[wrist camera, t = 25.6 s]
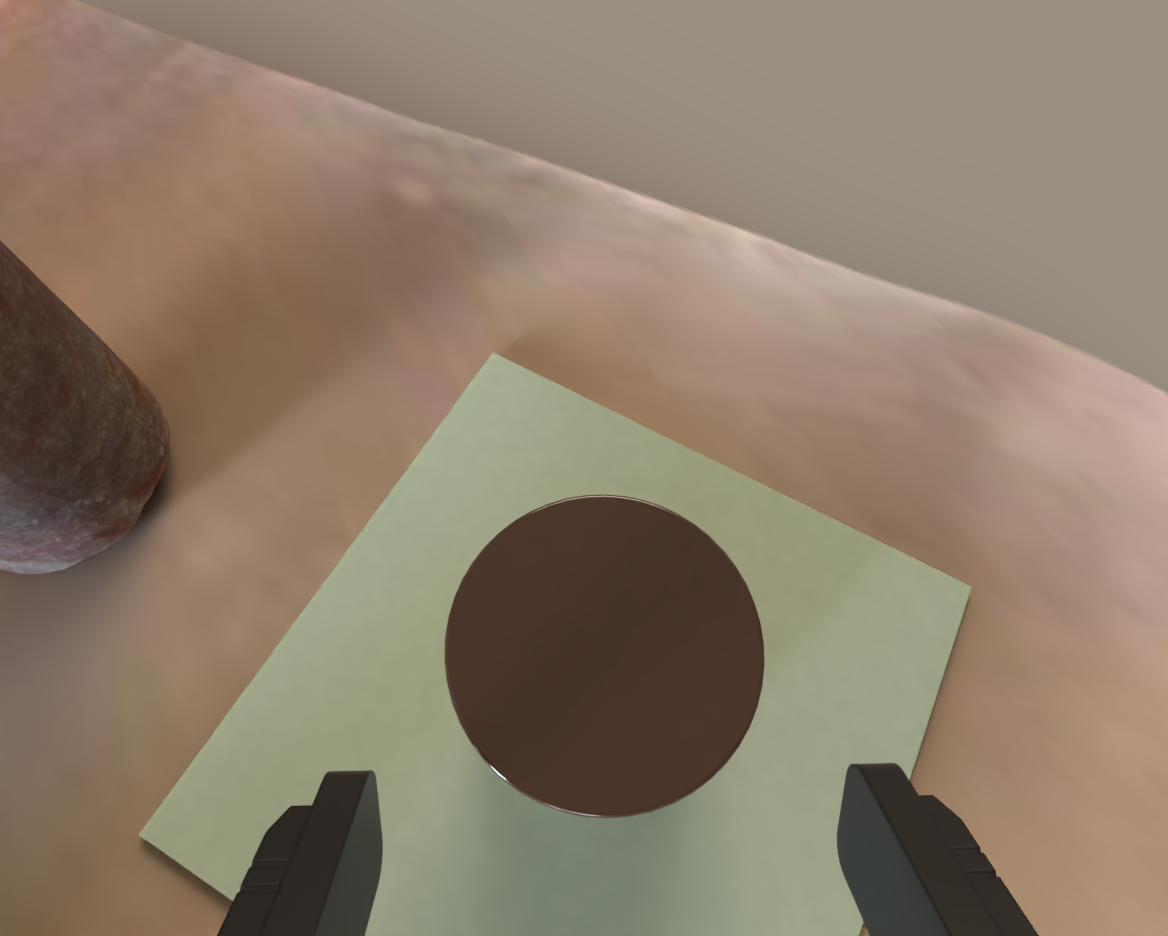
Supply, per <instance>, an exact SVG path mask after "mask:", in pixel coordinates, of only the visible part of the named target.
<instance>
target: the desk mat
mask: <svg viewBox="0 0 1168 936" xmlns="http://www.w3.org/2000/svg"><path fill="white" fill-rule="evenodd" d="M584 495H617V496H626V497H631V498H636V499H641V500H645V501H648V502H651V503H654V504H657V505H660V506H662V507H664V508H666V509H669V510H671V511H673V512H675V513H677V514H679V515H681V516H682V517H684V518H685V519H687V520H689V521H690V522H692V523H693V524H695V525H696V526H698V527H699V528H700V529H701V530H702V531H704V532H705V533H706V534H707V535H709V536H710V537H711V538H712V539H713V540H714V541H715V542H716V543H717V544H718V545H719V546H720V547H721V548H722V549H723V550H724V551H725V553H726V554H727V555H728V557H729V558H730V559H731V560H732V562H733V563H734V564H735V566H736V567H737V569H738V570H739V572H740V574H741V575H742V577H743V579H744V581H745V582H746V584H747V586H748V588H749V591H750V593H751V595H752V598H753V600H754V602H755V605H756V608H757V612H758V615H759V619H760V622H761V627H762V633H763V640H764V654H765V668H764V678H763V687H762V691H761V696H760V700H759V704H758V708H757V711H756V713H755V716H754V718H753V721H752V724H751V726H750V728H749V730H748V732H747V734H746V736H745V737H744V739H743V741H742V743H741V745H740V747H739V748H738V749H737V751H736V752H735V753H734V755H733V756H732V757H731V759H730V760H729V761H728V763H727V764H726V765H725V766H724V767H723V768H722V769H721V770H720V771H719V772H718V773H717V774H716V775H715V776H714V777H713V778H712V779H711V780H710V781H709V782H707V783H706V784H705V785H703V786H702V787H701V788H699V789H698V790H697V791H695V792H694V793H693V794H691V795H689V796H687V797H685V798H684V799H682V800H680V801H678V802H676V803H674V804H673V805H670V806H667V807H664V808H662V809H659V810H656V811H654V812H651V813H646V814H641V815H636V816H632V817H622V818H607V819H603V818H591V817H581V816H576V815H572V814H568V813H563V812H559V811H557V810H554V809H552V808H549V807H547V806H544V805H541V804H539V803H537V802H536V801H534V800H532V799H530V798H528V797H527V796H525V795H523V794H521V793H520V792H518V791H517V790H516V789H514V788H513V787H512V786H510V785H509V784H508V783H507V782H505V781H504V780H503V779H501V778H500V777H499V776H498V775H497V774H496V773H495V772H494V771H493V770H492V769H491V768H490V767H489V766H488V765H487V764H486V763H485V762H484V761H483V759H482V758H481V757H480V755H479V754H478V752H477V751H476V750H475V748H474V747H473V746H472V744H471V743H470V741H469V739H468V738H467V736H466V734H465V732H464V730H463V729H462V727H461V725H460V723H459V720H458V718H457V715H456V713H455V710H454V708H453V705H452V702H451V698H450V694H449V690H448V686H447V682H446V672H445V663H444V647H445V634H446V627H447V621H448V616H449V613H450V609H451V606H452V602H453V599H454V596H455V594H456V592H457V590H458V587H459V585H460V583H461V581H462V579H463V577H464V575H465V574H466V572H467V570H468V569H469V567H470V565H471V564H472V562H473V561H474V559H475V558H476V557H477V556H478V554H479V553H480V552H481V551H482V549H483V548H484V547H485V546H486V545H487V544H488V543H489V542H490V541H491V540H492V539H493V538H494V537H495V536H496V535H497V534H498V533H499V532H500V531H502V530H503V529H504V528H506V527H507V526H508V525H510V524H511V523H512V522H513V521H515V520H517V519H518V518H520V517H522V516H524V515H525V514H527V513H529V512H530V511H533V510H535V509H537V508H540V507H542V506H544V505H547V504H549V503H553V502H556V501H559V500H563V499H566V498H572V497H578V496H584ZM971 589H972V587H971V586H969V585H967V584H965V583H963V582H961V581H959V580H957V579H955V578H953V577H951V576H949V575H947V574H945V573H943V572H941V571H939V570H937V569H935V568H933V567H931V566H929V565H926V564H924V563H922V562H920V561H918V560H916V559H914V558H912V557H910V556H908V555H906V554H904V553H902V552H900V551H898V550H896V549H894V548H892V547H890V546H888V545H886V544H884V543H882V542H879V541H877V540H875V539H873V538H871V537H869V536H867V535H865V534H863V533H861V532H859V531H857V530H855V529H853V528H851V527H849V526H847V525H845V524H843V523H841V522H839V521H837V520H835V519H833V518H830V517H828V516H826V515H824V514H822V513H820V512H818V511H816V510H814V509H812V508H810V507H808V506H806V505H804V504H802V503H800V502H798V501H796V500H794V499H792V498H790V497H788V496H786V495H783V494H781V493H779V492H777V491H775V490H773V489H771V488H769V487H767V486H765V485H763V484H761V483H759V482H757V481H755V480H753V479H751V478H749V477H747V476H745V475H743V474H741V473H739V472H736V471H734V470H732V469H730V468H728V467H726V466H724V465H722V464H720V463H718V462H716V461H714V460H712V459H710V458H708V457H706V456H704V455H702V454H700V453H698V452H696V451H694V450H692V449H689V448H687V447H685V446H683V445H681V444H679V443H677V442H675V441H673V440H671V439H669V438H667V437H665V436H663V435H661V434H659V433H657V432H655V431H653V430H651V429H649V428H647V427H645V426H642V425H640V424H638V423H636V422H634V421H632V420H630V419H628V418H626V417H624V416H622V415H620V414H618V413H616V412H614V411H612V410H610V409H608V408H606V407H604V406H602V405H600V404H598V403H595V402H593V401H591V400H589V399H587V398H585V397H583V396H581V395H579V394H577V393H575V392H573V391H571V390H569V389H567V388H565V387H563V386H561V385H559V384H557V383H555V382H553V381H551V380H548V379H546V378H544V377H542V376H540V375H538V374H536V373H534V372H532V371H530V370H528V369H526V368H524V367H522V366H520V365H518V364H516V363H514V362H512V361H510V360H508V359H506V358H504V357H502V356H499V355H497V354H495V353H492V355H491V356H490V357H489V359H488V360H487V361H486V363H485V364H484V365H483V367H482V368H481V370H480V371H479V372H478V374H477V375H476V376H475V378H474V379H473V380H472V382H471V383H470V385H469V386H468V387H467V389H466V390H465V391H464V393H463V394H462V395H461V397H460V398H459V399H458V401H457V402H456V404H455V405H454V406H453V408H452V409H451V410H450V412H449V413H448V414H447V416H446V417H445V418H444V420H443V421H442V423H441V424H440V425H439V427H438V428H437V429H436V431H435V432H434V433H433V435H432V436H431V438H430V439H429V440H428V442H427V443H426V444H425V446H424V447H423V448H422V450H421V451H420V452H419V454H418V455H417V457H416V458H415V459H414V461H413V462H412V463H411V465H410V466H409V467H408V469H407V470H406V472H405V473H404V474H403V476H402V477H401V478H400V480H399V481H398V482H397V484H396V485H395V486H394V488H393V489H392V491H391V492H390V493H389V495H388V496H387V497H386V499H385V500H384V501H383V503H382V504H381V506H380V507H379V508H378V510H377V511H376V512H375V514H374V515H373V516H372V518H371V519H370V520H369V522H368V523H367V525H366V526H365V527H364V529H363V530H362V531H361V533H360V534H359V535H358V537H357V538H356V540H355V541H354V542H353V544H352V545H351V546H350V548H349V549H348V550H347V552H346V553H345V554H344V556H343V557H342V559H341V560H340V561H339V563H338V564H337V565H336V567H335V568H334V569H333V571H332V572H331V573H330V575H329V576H328V578H327V579H326V580H325V582H324V583H323V584H322V586H321V587H320V588H319V590H318V591H317V593H316V594H315V595H314V597H313V598H312V599H311V601H310V602H309V603H308V605H307V606H306V607H305V609H304V610H303V612H302V613H301V614H300V616H299V617H298V618H297V620H296V621H295V622H294V624H293V625H292V627H291V628H290V629H289V631H288V632H287V633H286V635H285V636H284V637H283V639H282V640H281V641H280V643H279V644H278V646H277V647H276V648H275V650H274V651H273V652H272V654H271V655H270V656H269V658H268V659H267V661H266V662H265V663H264V665H263V666H262V667H261V669H260V670H259V671H258V673H257V674H256V675H255V677H254V678H253V680H252V681H251V682H250V684H249V685H248V686H247V688H246V689H245V690H244V692H243V693H242V694H241V696H240V697H239V699H238V700H237V701H236V703H235V704H234V705H233V707H232V708H231V709H230V711H229V712H228V714H227V715H226V716H225V718H224V719H223V720H222V722H221V723H220V724H219V726H218V727H217V728H216V730H215V731H214V733H213V734H212V735H211V737H210V738H209V739H208V741H207V742H206V743H205V745H204V746H203V748H202V749H201V750H200V752H199V753H198V754H197V756H196V757H195V758H194V760H193V761H192V762H191V764H190V765H189V767H188V768H187V769H186V771H185V772H184V773H183V775H182V776H181V777H180V779H179V780H178V782H177V783H176V784H175V786H174V787H173V788H172V790H171V791H170V792H169V794H168V795H167V796H166V798H165V799H164V801H163V802H162V803H161V805H160V806H159V807H158V809H157V810H156V811H155V813H154V814H153V815H152V817H151V818H150V820H149V821H148V822H147V824H146V825H145V826H144V828H143V829H142V830H141V832H140V833H139V836H141V837H142V838H144V839H145V840H146V841H148V842H149V843H151V844H152V845H153V846H155V847H156V848H158V849H159V850H161V851H162V852H163V853H165V854H166V855H168V856H169V857H170V858H172V859H173V860H175V861H176V862H178V863H179V864H180V865H182V866H183V867H185V868H186V869H187V870H189V871H190V872H192V873H193V874H195V875H196V876H197V877H199V878H200V879H202V880H203V881H204V882H206V883H207V884H209V885H210V886H212V887H213V888H214V889H216V890H217V891H219V892H220V893H221V894H223V895H224V896H226V897H227V898H229V899H230V900H231V901H234V898H235V896H236V894H237V892H240V886H241V884H242V881H243V879H244V877H245V875H246V873H247V871H248V869H249V867H251V866H252V860H253V858H254V856H255V854H256V852H257V849H258V847H259V845H260V843H261V841H262V839H263V837H264V835H265V832H266V831H267V830H268V829H269V828H270V827H271V826H272V825H273V824H274V823H275V822H276V821H277V820H278V819H279V817H280V816H281V815H282V814H283V813H284V812H285V811H286V810H287V809H288V808H289V807H290V806H302V805H312V804H313V801H314V799H315V797H316V794H317V792H318V789H319V787H320V784H321V782H322V780H323V778H324V776H325V774H326V773H327V772H328V771H365V770H372V771H374V773H375V775H376V781H377V791H378V800H379V810H380V819H381V828H382V838H383V857H382V867H381V874H380V879H379V884H378V888H377V892H376V895H375V899H374V903H373V907H372V910H371V914H370V918H369V922H368V925H367V929H366V933H365V936H859V935H860V932H861V929H862V926H863V923H864V921H863V919H862V917H861V914H860V912H859V910H858V907H857V905H856V903H855V900H854V898H853V896H852V893H851V891H850V889H849V886H848V884H847V882H846V879H845V877H844V875H843V872H842V869H841V866H840V862H839V857H838V851H837V828H838V822H839V816H840V810H841V803H842V797H843V791H844V784H845V778H846V773H847V769H848V767H849V765H851V764H862V763H896V764H898V765H899V766H900V767H901V768H902V770H903V771H904V773H905V774H906V776H907V778H908V779H909V781H910V777H911V774H912V771H913V768H914V765H915V762H916V759H917V756H918V753H919V750H920V747H921V743H922V740H923V737H924V734H925V731H926V728H927V725H928V722H929V719H930V716H931V713H932V709H933V706H934V703H935V700H936V697H937V694H938V691H939V688H940V685H941V682H942V679H943V675H944V672H945V669H946V666H947V663H948V660H949V657H950V654H951V651H952V648H953V645H954V641H955V638H956V635H957V632H958V629H959V626H960V623H961V620H962V617H963V614H964V611H965V607H966V604H967V601H968V598H969V595H970V592H971Z"/></svg>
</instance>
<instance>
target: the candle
mask: <svg viewBox="0 0 1168 936" xmlns="http://www.w3.org/2000/svg"><path fill="white" fill-rule="evenodd" d="M169 435H170V430H169V426H168V423H167V420H166V419H165V417H164V415H163V412H162V409H161V406H160V404H159V403H158V401H157V399H156V398H155V396H154V395H153V393H152V392H151V391H150V390H149V389H148V388H147V386H146V385H145V384H144V383H143V382H142V381H141V380H140V379H139V378H138V376H137V375H136V374H135V373H134V372H133V371H132V370H131V369H130V368H129V367H128V366H127V365H126V364H125V363H124V362H123V361H122V360H121V359H119V358H118V357H117V356H116V354H115V353H114V352H113V351H112V350H111V349H110V348H109V347H108V346H107V345H106V344H105V343H104V342H103V341H102V340H101V339H100V338H99V336H97V335H96V334H95V333H94V332H93V331H92V330H91V329H90V328H89V327H88V326H87V325H86V324H85V323H84V322H83V321H82V320H81V319H80V318H79V317H78V316H77V315H76V314H75V313H74V312H73V311H72V310H71V309H70V308H69V307H68V306H67V305H66V304H65V303H64V302H62V301H61V300H60V299H59V298H58V297H57V296H56V295H55V294H54V293H53V292H52V291H51V290H50V289H49V288H48V287H47V286H46V285H45V284H44V283H43V282H42V281H41V280H40V279H39V278H38V277H37V276H36V275H35V274H34V273H33V272H32V271H31V270H30V269H29V268H28V267H27V266H26V265H25V264H24V263H23V262H22V261H21V260H20V259H19V258H18V257H17V256H16V255H15V254H14V253H13V252H12V251H11V250H10V249H9V248H7V247H6V246H5V245H4V244H3V243H2V242H1V241H0V569H2V570H5V571H10V572H15V573H20V574H39V573H50V572H55V571H59V570H63V569H66V568H68V567H71V566H73V565H75V564H77V563H80V562H82V561H84V560H85V559H86V558H87V557H90V556H92V555H95V554H97V553H99V552H101V551H103V550H104V549H106V548H108V547H110V546H112V545H113V544H115V543H116V542H118V541H119V540H120V539H122V538H123V537H125V536H126V535H127V534H128V533H129V532H130V531H131V529H132V527H133V526H134V525H135V524H136V522H137V520H138V518H139V516H140V514H141V512H142V509H143V506H144V505H145V503H146V502H147V501H148V500H149V498H150V497H151V495H152V493H153V490H154V488H155V486H156V485H157V483H158V481H159V479H160V477H161V476H162V474H163V472H164V470H165V467H166V465H167V463H168V461H169V458H170V456H169Z"/></svg>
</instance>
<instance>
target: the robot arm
mask: <svg viewBox="0 0 1168 936" xmlns="http://www.w3.org/2000/svg"><path fill="white" fill-rule="evenodd" d="M837 851H838V857H839V862H840V866H841V869H842V872H843V875H844V877H845V879H846V882H847V884H848V886H849V889H850V891H851V893H852V896H853V898H854V900H855V903H856V905H857V907H858V910H859V912H860V914H861V917H862V919H863V921H864V923H865V926H866V928H867V930H868V933H869V935H870V936H1039V935H1038V934H1037V932H1036V931H1035V929H1034V928H1033V926H1032V925H1031V923H1030V922H1029V920H1028V919H1027V917H1026V916H1025V914H1024V913H1023V911H1022V910H1021V908H1020V907H1019V905H1018V904H1017V902H1016V901H1015V899H1014V898H1013V896H1012V895H1011V893H1010V892H1009V890H1008V889H1007V887H1006V886H1005V884H1004V883H1003V881H1002V880H1001V878H1000V877H997V876H996V871H995V869H994V868H993V866H992V865H991V863H990V862H989V860H988V859H987V857H986V856H985V854H984V853H981V851H980V847H979V845H978V844H977V842H976V841H975V839H974V838H973V836H972V835H971V833H970V832H969V830H968V829H967V827H966V826H965V824H964V823H963V821H962V819H960V818H959V817H958V816H957V815H956V814H954V813H953V812H952V811H951V810H950V809H949V808H947V807H946V806H945V805H944V804H943V803H942V802H940V801H939V800H938V799H937V798H936V797H934V796H933V795H923V796H919V795H918V794H917V792H916V791H915V789H914V787H913V786H912V784H911V783H910V781H909V779H908V778H907V776H906V774H905V773H904V771H903V770H902V768H901V767H900V766H899V765H898V764H896V763H862V764H851V765H849V767H848V769H847V773H846V778H845V784H844V791H843V797H842V803H841V810H840V816H839V822H838V828H837ZM382 857H383V838H382V828H381V819H380V810H379V800H378V791H377V781H376V775H375V773H374V771H372V770H365V771H328V772H327V773H326V774H325V776H324V778H323V780H322V782H321V784H320V787H319V789H318V792H317V794H316V797H315V799H314V801H313V804H312V805H302V806H290V807H289V808H288V809H287V810H286V811H285V812H284V813H283V814H282V815H281V816H280V817H279V819H278V820H277V821H276V822H275V823H274V824H273V825H272V826H271V827H270V828H269V829H268V830H267V831H266V832H265V835H264V837H263V839H262V841H261V843H260V845H259V847H258V849H257V852H256V854H255V856H254V858H253V860H252V866H251V867H249V869H248V871H247V873H246V875H245V877H244V879H243V881H242V884H241V886H240V892H237V894H236V896H235V898H234V901H233V903H232V905H231V907H230V909H229V911H228V913H227V916H226V918H225V920H224V922H223V924H222V926H221V928H220V930H219V933H218V935H217V936H365V933H366V929H367V925H368V922H369V918H370V914H371V910H372V907H373V903H374V899H375V895H376V892H377V888H378V884H379V879H380V874H381V867H382Z"/></svg>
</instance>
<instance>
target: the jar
mask: <svg viewBox="0 0 1168 936" xmlns="http://www.w3.org/2000/svg"><path fill="white" fill-rule="evenodd" d="M444 663H445V672H446V682H447V686H448V690H449V694H450V698H451V702H452V705H453V708H454V710H455V713H456V715H457V718H458V720H459V723H460V725H461V727H462V729H463V730H464V732H465V734H466V736H467V738H468V739H469V741H470V743H471V744H472V746H473V747H474V748H475V750H476V751H477V752H478V754H479V755H480V757H481V758H482V759H483V761H484V762H485V763H486V764H487V765H488V766H489V767H490V768H491V769H492V770H493V771H494V772H495V773H496V774H497V775H498V776H499V777H500V778H501V779H503V780H504V781H505V782H507V783H508V784H509V785H510V786H512V787H513V788H514V789H516V790H517V791H518V792H520V793H521V794H523V795H525V796H527V797H528V798H530V799H532V800H534V801H536V802H537V803H539V804H541V805H544V806H547V807H549V808H552V809H554V810H557V811H559V812H563V813H568V814H572V815H576V816H581V817H591V818H603V819H607V818H622V817H632V816H636V815H641V814H646V813H651V812H654V811H656V810H659V809H662V808H664V807H667V806H670V805H673V804H674V803H676V802H678V801H680V800H682V799H684V798H685V797H687V796H689V795H691V794H693V793H694V792H695V791H697V790H698V789H699V788H701V787H702V786H703V785H705V784H706V783H707V782H709V781H710V780H711V779H712V778H713V777H714V776H715V775H716V774H717V773H718V772H719V771H720V770H721V769H722V768H723V767H724V766H725V765H726V764H727V763H728V761H729V760H730V759H731V757H732V756H733V755H734V753H735V752H736V751H737V749H738V748H739V747H740V745H741V743H742V741H743V739H744V737H745V736H746V734H747V732H748V730H749V728H750V726H751V724H752V721H753V718H754V716H755V713H756V711H757V708H758V704H759V700H760V696H761V691H762V687H763V678H764V668H765V654H764V640H763V633H762V627H761V622H760V619H759V615H758V612H757V608H756V605H755V602H754V600H753V598H752V595H751V593H750V591H749V588H748V586H747V584H746V582H745V581H744V579H743V577H742V575H741V574H740V572H739V570H738V569H737V567H736V566H735V564H734V563H733V562H732V560H731V559H730V558H729V557H728V555H727V554H726V553H725V551H724V550H723V549H722V548H721V547H720V546H719V545H718V544H717V543H716V542H715V541H714V540H713V539H712V538H711V537H710V536H709V535H707V534H706V533H705V532H704V531H702V530H701V529H700V528H699V527H698V526H696V525H695V524H693V523H692V522H690V521H689V520H687V519H685V518H684V517H682V516H681V515H679V514H677V513H675V512H673V511H671V510H669V509H666V508H664V507H662V506H660V505H657V504H654V503H651V502H648V501H645V500H641V499H636V498H631V497H626V496H617V495H584V496H578V497H572V498H566V499H563V500H559V501H556V502H553V503H549V504H547V505H544V506H542V507H540V508H537V509H535V510H533V511H530V512H529V513H527V514H525V515H524V516H522V517H520V518H518V519H517V520H515V521H513V522H512V523H511V524H510V525H508V526H507V527H506V528H504V529H503V530H502V531H500V532H499V533H498V534H497V535H496V536H495V537H494V538H493V539H492V540H491V541H490V542H489V543H488V544H487V545H486V546H485V547H484V548H483V549H482V551H481V552H480V553H479V554H478V556H477V557H476V558H475V559H474V561H473V562H472V564H471V565H470V567H469V569H468V570H467V572H466V574H465V575H464V577H463V579H462V581H461V583H460V585H459V587H458V590H457V592H456V594H455V596H454V599H453V602H452V606H451V609H450V613H449V616H448V621H447V627H446V634H445V647H444Z"/></svg>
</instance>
